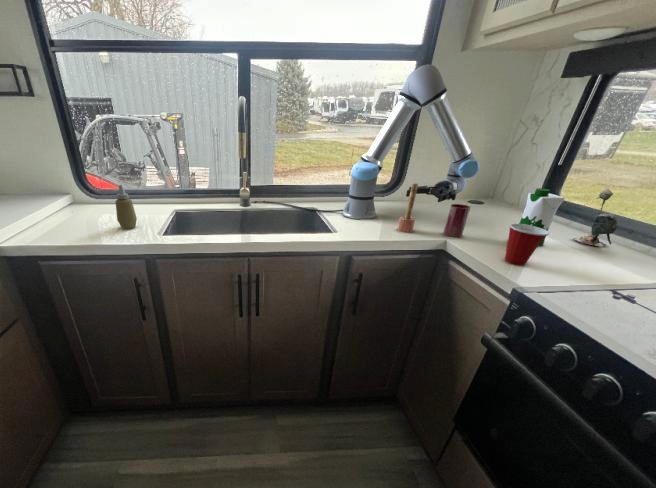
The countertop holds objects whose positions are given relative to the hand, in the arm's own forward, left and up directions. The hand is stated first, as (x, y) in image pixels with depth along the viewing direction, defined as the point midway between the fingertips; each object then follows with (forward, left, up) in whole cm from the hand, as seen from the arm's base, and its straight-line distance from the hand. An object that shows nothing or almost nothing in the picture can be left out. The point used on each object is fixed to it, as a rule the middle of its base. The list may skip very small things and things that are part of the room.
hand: (422, 196), depth 141 cm
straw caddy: (-4, -8, -13) cm, 16 cm away
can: (+14, -7, -13) cm, 21 cm away
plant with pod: (+62, +3, -13) cm, 64 cm away
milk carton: (+40, -5, -13) cm, 43 cm away
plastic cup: (+32, -29, -13) cm, 45 cm away
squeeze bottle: (-116, -51, -13) cm, 128 cm away
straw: (-4, -8, -13) cm, 16 cm away
